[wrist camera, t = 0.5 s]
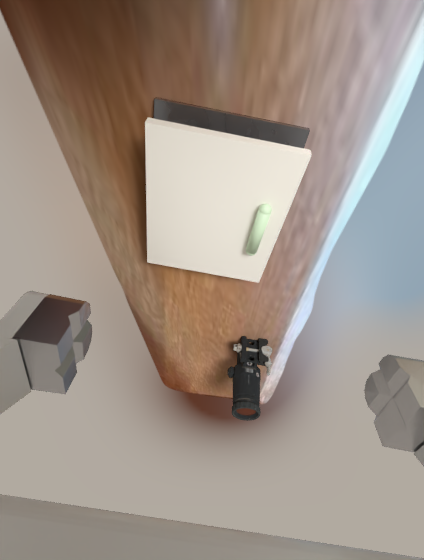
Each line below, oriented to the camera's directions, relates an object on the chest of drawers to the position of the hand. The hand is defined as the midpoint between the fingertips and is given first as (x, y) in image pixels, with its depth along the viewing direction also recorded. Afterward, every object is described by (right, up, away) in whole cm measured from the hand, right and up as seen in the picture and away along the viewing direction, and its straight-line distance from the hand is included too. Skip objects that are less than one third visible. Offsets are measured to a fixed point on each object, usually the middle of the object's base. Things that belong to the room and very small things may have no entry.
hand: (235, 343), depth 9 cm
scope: (+7, -14, +62) cm, 64 cm away
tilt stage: (0, +10, +34) cm, 35 cm away
